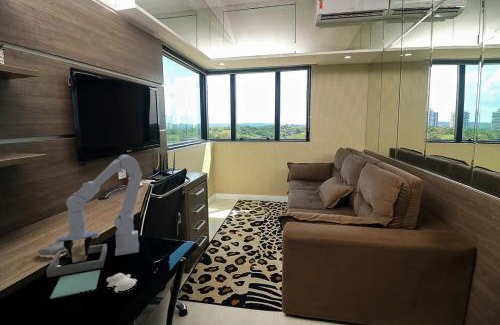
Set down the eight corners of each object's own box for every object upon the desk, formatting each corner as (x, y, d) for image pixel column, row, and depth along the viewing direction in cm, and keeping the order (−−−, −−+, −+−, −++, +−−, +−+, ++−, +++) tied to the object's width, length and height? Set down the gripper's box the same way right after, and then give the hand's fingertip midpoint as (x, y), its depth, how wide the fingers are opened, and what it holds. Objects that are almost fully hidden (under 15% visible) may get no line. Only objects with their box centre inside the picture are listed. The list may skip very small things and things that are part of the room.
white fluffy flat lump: (126, 273, 101) (125, 265, 101) (140, 285, 93) (140, 277, 93) (101, 283, 94) (101, 275, 94) (115, 297, 87) (115, 289, 86)
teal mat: (100, 270, 102) (100, 269, 102) (95, 289, 90) (95, 288, 90) (60, 277, 97) (60, 276, 97) (50, 299, 85) (50, 297, 85)
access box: (107, 249, 119) (106, 243, 119) (103, 267, 104) (102, 260, 104) (58, 257, 112) (58, 250, 111) (47, 277, 97) (46, 270, 96)
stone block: (36, 261, 112) (54, 259, 110) (33, 250, 112) (52, 248, 110) (61, 249, 124) (78, 247, 122) (59, 240, 123) (76, 238, 121)
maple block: (87, 255, 111) (86, 242, 110) (85, 260, 107) (84, 246, 106) (74, 257, 109) (73, 244, 108) (72, 262, 105) (71, 248, 104)
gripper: (52, 231, 99) (56, 264, 101) (96, 225, 105) (98, 256, 107) (57, 224, 106) (60, 255, 107) (98, 219, 111) (100, 249, 113)
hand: (79, 255), depth 108 cm, fingers closed on maple block, 4 cm apart
